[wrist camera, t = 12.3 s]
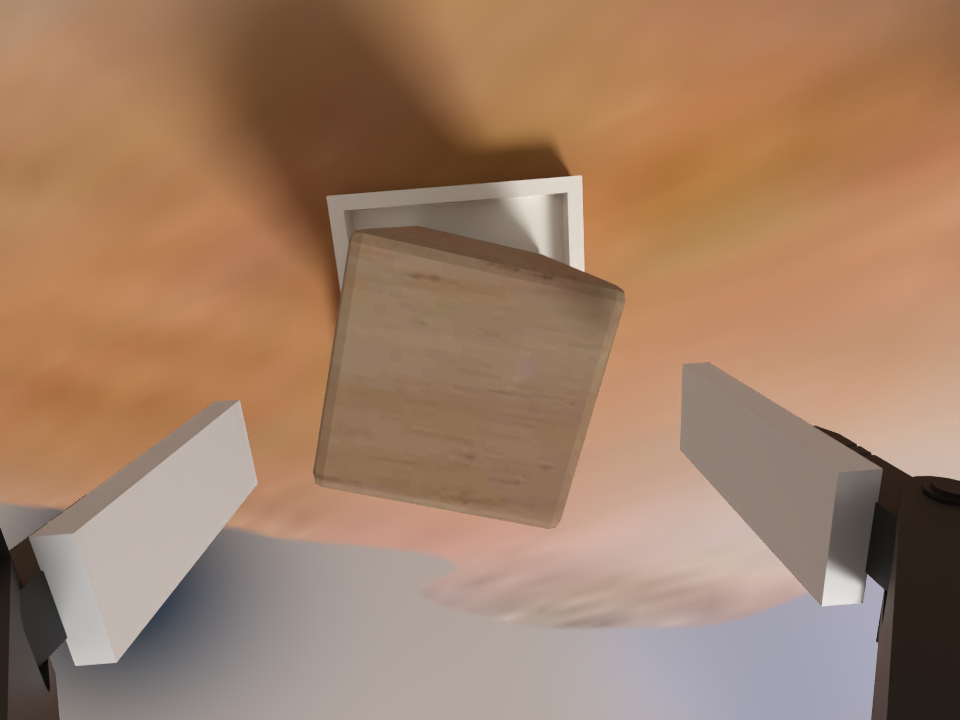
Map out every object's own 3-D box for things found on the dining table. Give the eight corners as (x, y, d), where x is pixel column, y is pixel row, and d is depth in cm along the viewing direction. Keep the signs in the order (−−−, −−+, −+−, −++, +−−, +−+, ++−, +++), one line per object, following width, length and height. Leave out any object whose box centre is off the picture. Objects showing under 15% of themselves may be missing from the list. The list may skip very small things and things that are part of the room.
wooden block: (514, 384, 40) (560, 536, 20) (386, 357, 39) (307, 490, 20) (547, 255, 37) (633, 290, 18) (411, 224, 36) (348, 225, 17)
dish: (337, 198, 37) (326, 195, 34) (572, 179, 37) (581, 175, 34) (368, 418, 41) (361, 433, 38) (579, 401, 41) (587, 415, 39)
